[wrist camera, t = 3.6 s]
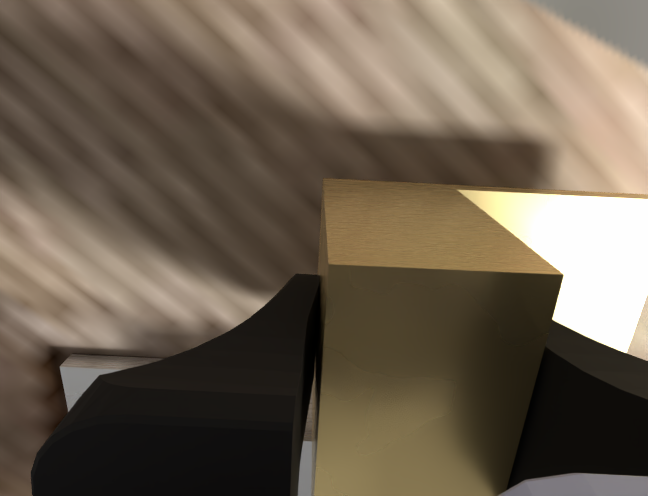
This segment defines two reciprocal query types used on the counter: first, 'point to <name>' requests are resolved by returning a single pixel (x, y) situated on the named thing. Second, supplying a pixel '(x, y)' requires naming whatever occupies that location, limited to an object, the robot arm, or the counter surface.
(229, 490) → the robot arm
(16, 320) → the counter surface
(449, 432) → the pale gold block
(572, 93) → the counter surface
